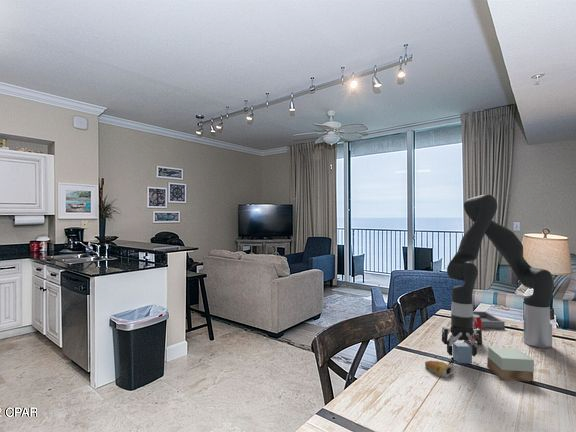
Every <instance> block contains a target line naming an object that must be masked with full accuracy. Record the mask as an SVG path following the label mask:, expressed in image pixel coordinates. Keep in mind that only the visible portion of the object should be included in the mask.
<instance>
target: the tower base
mask: <svg viewBox="0 0 576 432" xmlns="http://www.w3.org/2000/svg"><path fill="white" fill-rule="evenodd" d="M486 359H487V362H486V363H487V364H486V367H487V368H488V369H489V370H491V372H492V373H493V374H495V375H496V376H497V377H498V378H499V379H500V380H501V381H506V382H507V381H509V382H511V381H512V382H513V381H514V382H530V381H532V383H533V382H534V372H530V371H513V370H502V369H501V368H500V367H498V366H497V365H496V364H495V363H494V362H493V361H492V360H491V359H489V358H488V356H487V358H486Z"/></svg>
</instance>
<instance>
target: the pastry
mask: <svg viewBox="0 0 576 432" xmlns="http://www.w3.org/2000/svg"><path fill="white" fill-rule="evenodd" d="M424 365H425V368H426V369H427V370H429V371H430V373H433V374H434V375H437V376H439V377H441V378H448V377H449V376H451V375H454V368H453V366H452V365H451V364H450V365H449V364H447V363H446V362H444V361H438V360H428V361H425V362H424Z"/></svg>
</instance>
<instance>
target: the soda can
mask: <svg viewBox="0 0 576 432" xmlns="http://www.w3.org/2000/svg"><path fill="white" fill-rule="evenodd" d="M476 328H478V329H480V330H481V331H483V330H482V329H483V328H482V321H481V318H480V316H479V315H477V314H473V329H476ZM471 337H472V338H473V340H474V341H476V334H475V333H473V334H472V336H471ZM465 343H467V344H471V343H470V341H469V340H467V341H465Z"/></svg>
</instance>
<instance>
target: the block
mask: <svg viewBox="0 0 576 432" xmlns="http://www.w3.org/2000/svg"><path fill="white" fill-rule="evenodd" d="M452 358H453V359H454V360H455V362H456V363H458V364H470V365H471V364H473V356H472V348H471V345H469V343H468V342H454V343H453V345H452Z"/></svg>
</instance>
